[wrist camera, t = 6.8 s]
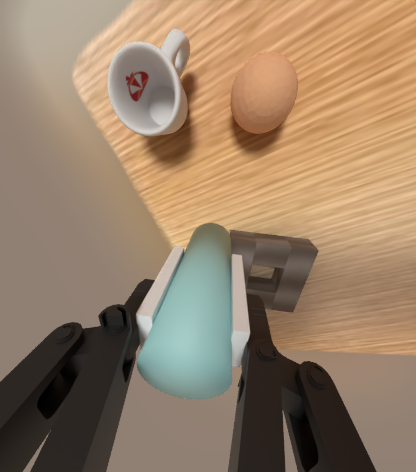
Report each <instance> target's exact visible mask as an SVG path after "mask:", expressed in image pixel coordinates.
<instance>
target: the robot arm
mask: <svg viewBox="0 0 416 472" xmlns="http://www.w3.org/2000/svg"><path fill="white" fill-rule="evenodd" d="M183 255H184V247H177V246H175V247H174V248H173V250H172V252H171V254H170V255H169V257H168V259H167V261H166V263H165V264H164V266H163V268H162V270H161V271H160V273H159V275H158V276H157V278H156V280H149V279H145V280H143V281H142V282H140V283H139V284H138V285H137V287H136V288H135V290H134V291H133V293H132V294H131V296H130V297H129V299H128V300H127V302H126V303H125V305H120V304H118V305H112V306H110V307H107V308H106V309H104V310H103V311H102V312H101V313H100V314H99V320H100V324H101V326H99V327H92V328H85V329H83V328H82V326H81V324H79V323H74V322H71V323H67V324H64V325H62V326H60V327H58V328H57V329H55V330H54V331H53V332H51V333H50V334H49V335H48V336H47V337H46V338H45V339H44V340H43V341H42V342H41V343H40V344H39V345H38V346H37V347H36V348H35V349H34V350H33V351H32V352H31V353H30V354H29V355H28V356H27V357H26V358H25V359H23V360H22V361H21V362H20V363H19V364H18V365H17V366H16V367H15V368H14V369H13V370H12V371H11V372H10V373H9V374H8V375H7V376H6V377H5V378H4V379H3V380H2V381H1V382H0V472H23V470H24V469H25V467H26V466H27V464H28V463H29V461H30V460H31V458H32V457H33V455H34V454H35V452H36V451H37V449H38V448H39V447H40V445H41V444H42V442H43V441H44V439H45V438H46V436H47V435H48V433H49V432H50V433H49V435H48V437H47V439H46V441H45V443H44V445H43V447H42V449H41V451H40V453H39V455H38V457H37V459H36V461H35V463H34V465H33V467H32V469H31V471H30V472H106V470H107V466H108V462H109V459H110V455H111V451H112V447H113V443H114V440H115V436H116V432H117V428H118V424H119V421H120V417H121V413H122V409H123V405H124V402H125V398H126V394H127V390H128V386H129V382H130V379H131V375H132V371H133V367H134V364H135V359H136V350H137V348H138V346H139V345H140V350H142V348H143V346H144V343H145V341H146V339H147V337H148V334H149V332H150V330H151V328H152V325H153V323H154V321H155V319H156V316H157V314H158V312H159V310H160V307H161V305H162V303H163V301H164V298H165V296H166V294H167V291H168V289H169V287H170V285H171V282H172V280H173V278H174V276H175V273H176V271H177V269H178V267H179V264H180V262H181V260H182V258H183ZM231 342H232V366H235V367H240V365H241V364H242V374H241V377H240V380H239V384H238V387H239V391H238V399H237V406H236V407H237V408H236V414H235V422H234V429H233V438H232V445H231V452H230V460H229V468H228V472H285V454H284V433H283V414H282V410H283V411H284V415H285V419H286V423H287V428H288V432H289V436H290V440H291V444H292V449H293V453H294V457H295V461H296V465H297V470H298V472H376V470H375V468H374V465H373V463H372V462H371V459H370V457H369V455H368V453H367V451H366V449H365V447H364V445H363V443H362V441H361V438H360V436H359V434H358V432H357V430H356V428H355V426H354V424H353V422H352V420H351V418H350V416H349V413H348V411H347V409H346V407H345V405H344V403H343V401H342V399H341V397H340V395H339V393H338V391H337V389H336V386H335V384H334V383H333V380H332V379H331V377H330V376H329V374H328V373H327V372H326V371H325V370H324V369H323V368H322V367H321V366H319V365H318V364H316V363H314V362H310V361H306V362H303V363H302V364H298V363H296V362H294V361H292V360H290V359H287V358H286V357H284V356H283V355H282V354H280V353H279V352H278V350H277V349H276V347H275V346H274V345H273V342H272V339H271V335H270V330H269V325H268V321H267V317H266V311H265V307H264V302H263V301H262V299H261V298H260V296H259V295H253V294H247V293H246V289H245V280H244V271H243V262H242V255H236V254H232V257H231ZM50 430H51V431H50Z"/></svg>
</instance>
